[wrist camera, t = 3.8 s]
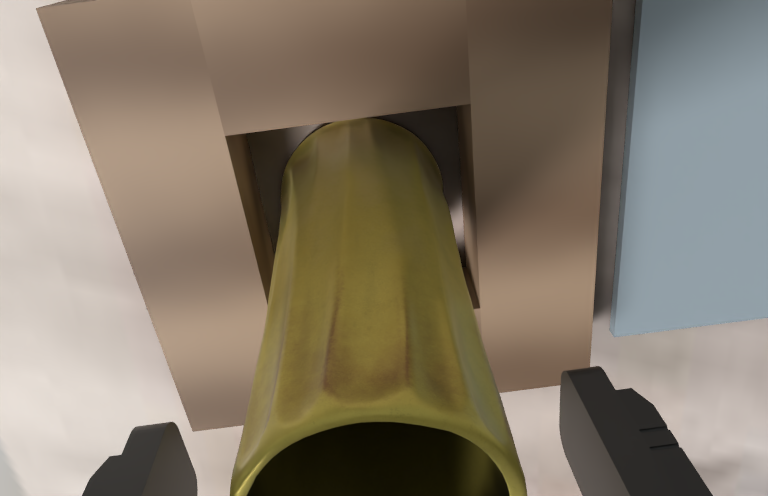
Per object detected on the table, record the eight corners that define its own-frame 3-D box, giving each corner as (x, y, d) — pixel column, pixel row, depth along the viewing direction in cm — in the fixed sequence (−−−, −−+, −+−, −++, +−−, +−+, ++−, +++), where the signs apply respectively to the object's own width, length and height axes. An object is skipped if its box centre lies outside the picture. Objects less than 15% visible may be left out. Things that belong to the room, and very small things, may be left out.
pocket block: (78, -3, 19) (35, 8, 16) (579, -70, 19) (617, -69, 16) (208, 381, 27) (192, 431, 24) (564, 336, 26) (588, 381, 24)
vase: (337, 288, 25) (327, 662, 12) (248, 169, 22) (117, 491, 10) (468, 217, 23) (608, 552, 11) (390, 82, 21) (457, 321, 8)
